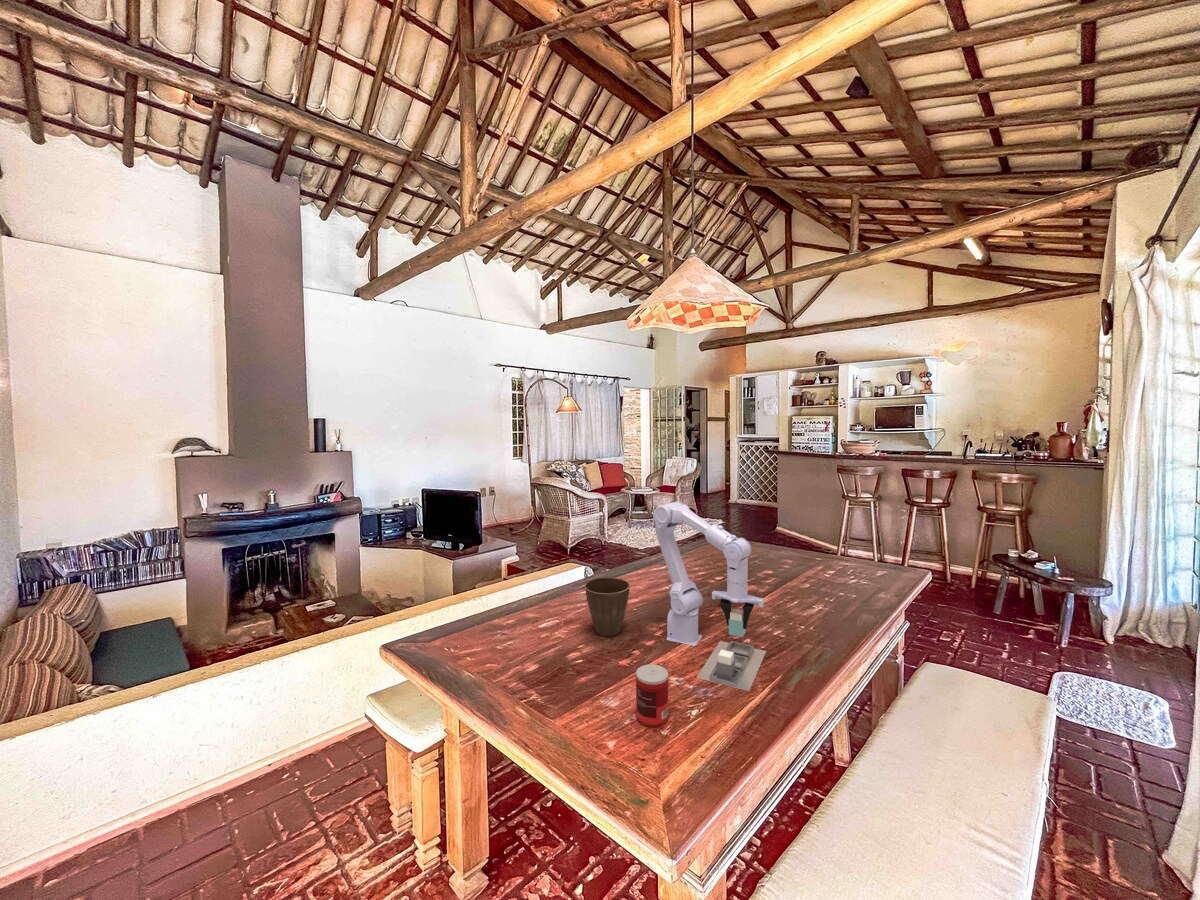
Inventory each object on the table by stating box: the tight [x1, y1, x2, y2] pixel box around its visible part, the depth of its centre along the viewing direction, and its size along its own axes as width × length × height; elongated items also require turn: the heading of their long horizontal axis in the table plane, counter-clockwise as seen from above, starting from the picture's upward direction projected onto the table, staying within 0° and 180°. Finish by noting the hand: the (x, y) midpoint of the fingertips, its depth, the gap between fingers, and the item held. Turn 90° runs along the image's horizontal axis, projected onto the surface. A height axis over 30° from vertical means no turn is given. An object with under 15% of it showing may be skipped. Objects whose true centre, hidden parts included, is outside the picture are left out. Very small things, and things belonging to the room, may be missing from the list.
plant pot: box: [584, 577, 631, 637], centre depth 159 cm, size 15×15×16 cm
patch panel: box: [696, 640, 767, 692], centre depth 137 cm, size 14×24×2 cm, turn 151°
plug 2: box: [728, 608, 747, 638], centre depth 140 cm, size 4×4×6 cm
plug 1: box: [717, 650, 735, 680], centre depth 130 cm, size 4×4×6 cm
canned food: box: [635, 664, 669, 728], centre depth 113 cm, size 8×8×11 cm
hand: (737, 626), depth 140 cm, fingers closed on plug 2, 4 cm apart
